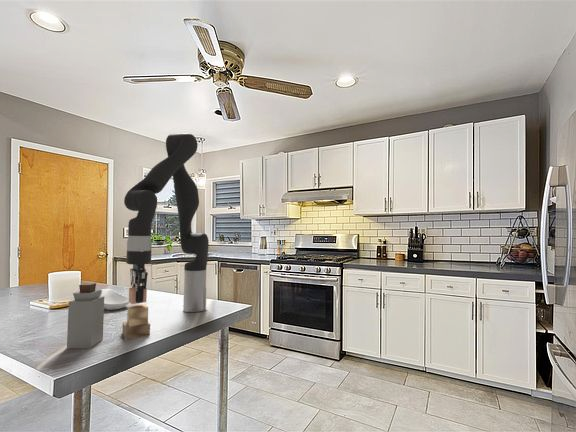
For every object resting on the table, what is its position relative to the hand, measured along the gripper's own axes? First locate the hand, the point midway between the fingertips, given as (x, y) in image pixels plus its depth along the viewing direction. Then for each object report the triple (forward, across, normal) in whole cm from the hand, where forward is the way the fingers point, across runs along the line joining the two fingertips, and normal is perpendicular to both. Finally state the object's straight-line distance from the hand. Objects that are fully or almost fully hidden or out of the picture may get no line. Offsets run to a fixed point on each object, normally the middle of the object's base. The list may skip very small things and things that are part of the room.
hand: (137, 300), depth 103 cm
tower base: (+11, 0, 0) cm, 11 cm away
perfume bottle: (+11, 0, -14) cm, 18 cm away
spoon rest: (+12, -47, -1) cm, 49 cm away
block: (0, 0, 0) cm, 0 cm away
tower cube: (+7, 0, 0) cm, 7 cm away
